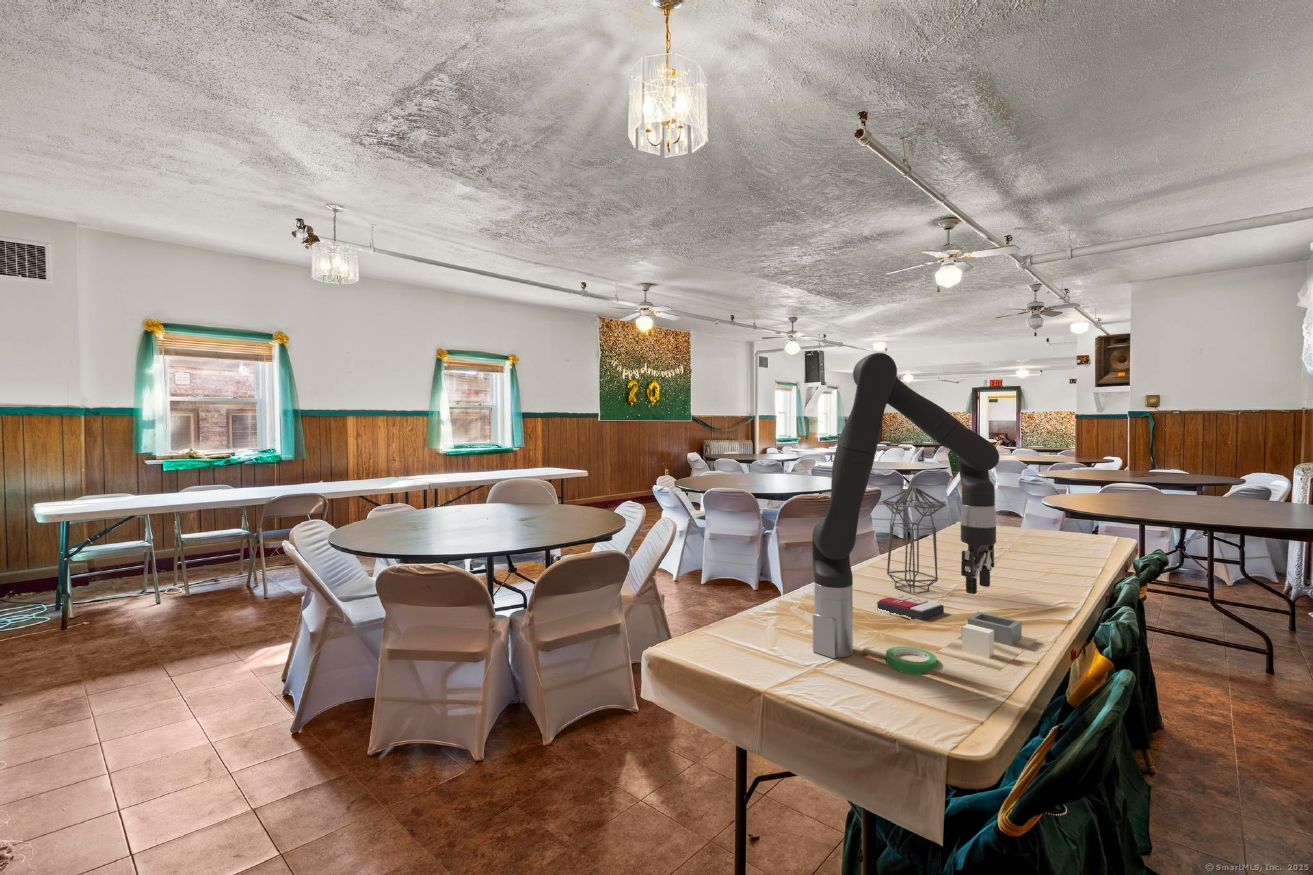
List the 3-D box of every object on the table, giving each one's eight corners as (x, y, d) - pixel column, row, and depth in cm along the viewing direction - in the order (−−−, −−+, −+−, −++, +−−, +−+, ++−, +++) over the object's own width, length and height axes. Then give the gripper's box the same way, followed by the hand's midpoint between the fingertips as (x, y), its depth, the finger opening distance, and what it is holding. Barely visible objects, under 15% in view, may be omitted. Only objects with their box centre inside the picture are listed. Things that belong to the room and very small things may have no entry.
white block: (988, 658, 138) (989, 633, 138) (960, 650, 143) (961, 626, 142) (993, 654, 140) (993, 630, 140) (966, 647, 145) (966, 623, 144)
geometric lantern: (877, 585, 202) (878, 485, 201) (914, 582, 206) (915, 484, 206) (910, 598, 187) (911, 490, 186) (949, 594, 191) (950, 488, 191)
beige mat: (999, 674, 131) (999, 670, 131) (936, 656, 142) (936, 652, 142) (1036, 643, 149) (1036, 639, 149) (978, 628, 160) (978, 625, 160)
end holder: (1011, 646, 145) (1011, 628, 145) (967, 635, 153) (967, 618, 152) (1021, 638, 150) (1021, 621, 150) (978, 628, 157) (978, 611, 157)
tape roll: (894, 652, 145) (894, 642, 145) (942, 664, 138) (942, 653, 138) (879, 667, 137) (879, 656, 136) (929, 680, 130) (929, 669, 129)
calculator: (898, 592, 182) (944, 602, 170) (898, 606, 182) (944, 617, 170) (876, 599, 176) (922, 609, 164) (877, 613, 176) (923, 625, 164)
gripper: (983, 529, 133) (984, 599, 133) (1005, 521, 142) (1005, 586, 143) (949, 525, 138) (950, 592, 139) (972, 517, 148) (973, 581, 148)
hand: (978, 589), depth 141 cm, fingers open, 8 cm apart
